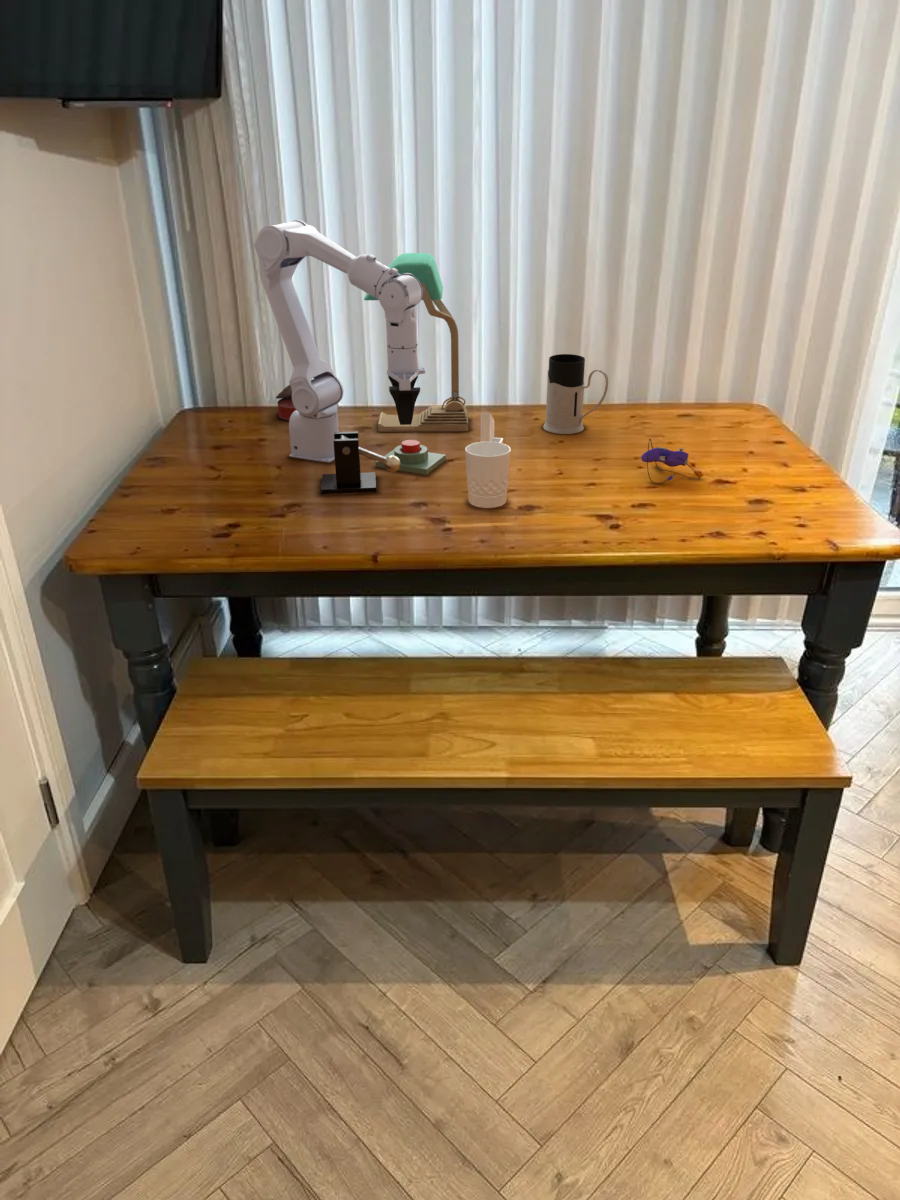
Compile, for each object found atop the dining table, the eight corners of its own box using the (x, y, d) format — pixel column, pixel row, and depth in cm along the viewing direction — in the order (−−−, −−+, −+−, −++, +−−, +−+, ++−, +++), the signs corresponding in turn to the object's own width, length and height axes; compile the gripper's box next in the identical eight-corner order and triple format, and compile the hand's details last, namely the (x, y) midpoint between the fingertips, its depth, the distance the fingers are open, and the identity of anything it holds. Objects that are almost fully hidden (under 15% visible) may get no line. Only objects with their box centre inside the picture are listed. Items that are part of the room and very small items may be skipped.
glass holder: (556, 419, 211) (559, 351, 204) (613, 430, 204) (618, 360, 197) (535, 429, 205) (538, 359, 198) (594, 441, 198) (598, 369, 190)
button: (398, 452, 184) (398, 444, 183) (406, 447, 187) (406, 438, 186) (415, 455, 183) (414, 446, 182) (423, 449, 186) (422, 441, 185)
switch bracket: (375, 478, 180) (373, 428, 175) (376, 493, 173) (373, 442, 168) (322, 480, 179) (318, 430, 175) (321, 496, 172) (317, 444, 168)
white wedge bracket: (476, 457, 182) (480, 412, 183) (483, 466, 192) (487, 423, 192) (495, 458, 182) (499, 413, 182) (501, 467, 192) (505, 424, 192)
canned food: (284, 439, 215) (259, 401, 211) (297, 420, 223) (273, 384, 219) (324, 419, 210) (300, 380, 206) (336, 401, 219) (313, 363, 214)
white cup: (514, 496, 171) (516, 443, 166) (502, 513, 165) (503, 458, 160) (473, 491, 173) (473, 439, 169) (459, 507, 167) (459, 453, 162)
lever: (396, 470, 177) (402, 456, 176) (396, 476, 174) (403, 462, 173) (336, 447, 174) (342, 432, 173) (336, 452, 171) (342, 438, 170)
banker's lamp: (468, 436, 201) (468, 263, 184) (370, 437, 201) (361, 264, 185) (468, 414, 215) (467, 251, 198) (376, 414, 215) (368, 252, 198)
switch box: (375, 468, 185) (375, 452, 183) (396, 454, 192) (396, 438, 190) (426, 476, 181) (426, 460, 179) (446, 461, 188) (446, 445, 186)
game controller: (667, 442, 185) (706, 446, 177) (660, 484, 186) (698, 490, 178) (630, 435, 180) (668, 439, 171) (623, 478, 181) (660, 484, 173)
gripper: (426, 354, 166) (428, 429, 173) (422, 335, 179) (424, 405, 185) (386, 355, 166) (389, 430, 172) (385, 336, 179) (388, 407, 185)
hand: (404, 417), depth 179 cm, fingers open, 7 cm apart
